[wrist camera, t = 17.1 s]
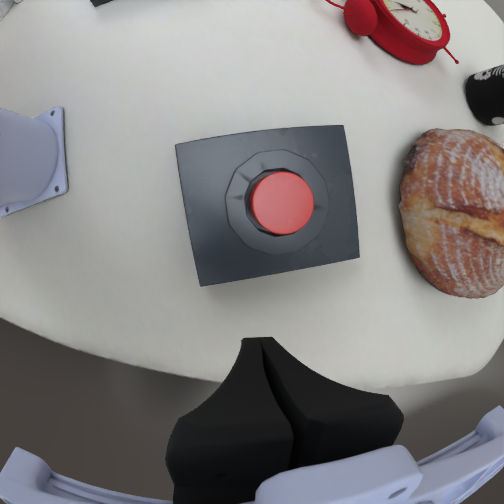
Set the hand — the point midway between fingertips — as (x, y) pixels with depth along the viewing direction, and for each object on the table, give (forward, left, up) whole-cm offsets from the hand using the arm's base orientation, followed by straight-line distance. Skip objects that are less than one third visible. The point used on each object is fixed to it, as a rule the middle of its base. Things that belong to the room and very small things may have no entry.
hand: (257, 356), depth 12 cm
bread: (+23, +3, -11) cm, 25 cm away
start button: (+3, +6, -7) cm, 10 cm away
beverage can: (+31, +16, -11) cm, 36 cm away
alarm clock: (+18, +24, -11) cm, 32 cm away
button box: (+3, +6, -10) cm, 12 cm away
